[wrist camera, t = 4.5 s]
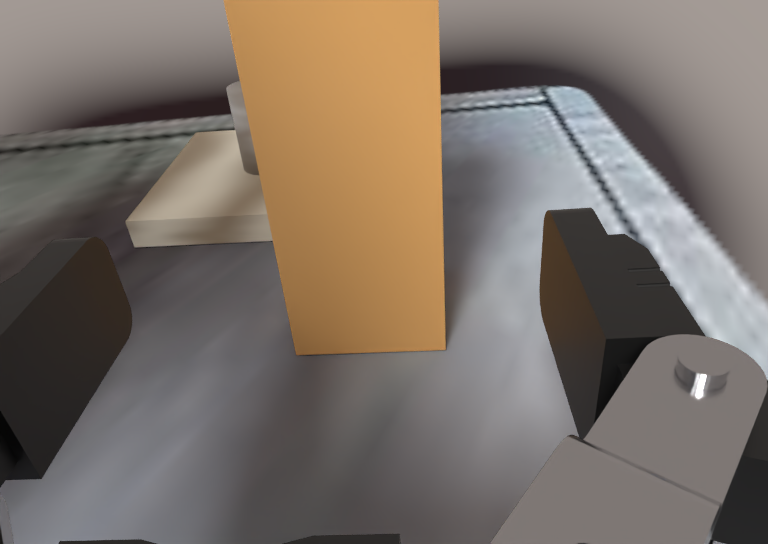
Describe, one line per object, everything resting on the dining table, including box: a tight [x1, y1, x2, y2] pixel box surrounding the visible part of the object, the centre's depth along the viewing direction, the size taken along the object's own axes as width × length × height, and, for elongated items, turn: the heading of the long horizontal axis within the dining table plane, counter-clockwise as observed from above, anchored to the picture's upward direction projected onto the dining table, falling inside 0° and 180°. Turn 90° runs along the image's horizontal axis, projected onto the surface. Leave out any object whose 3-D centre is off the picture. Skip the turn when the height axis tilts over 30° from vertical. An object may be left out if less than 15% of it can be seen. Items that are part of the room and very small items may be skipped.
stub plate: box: [125, 81, 273, 247], centre depth 33 cm, size 12×12×6 cm
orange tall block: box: [224, 0, 446, 355], centre depth 21 cm, size 6×6×14 cm
